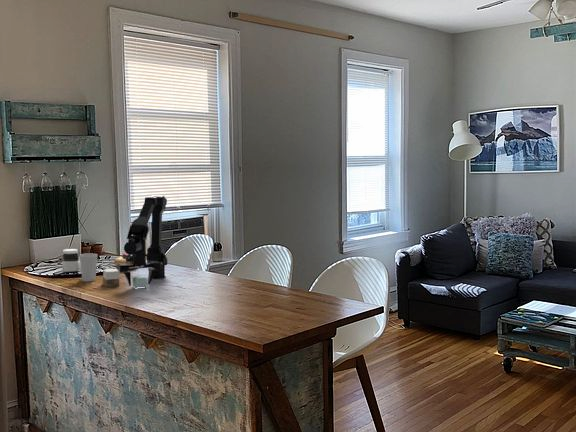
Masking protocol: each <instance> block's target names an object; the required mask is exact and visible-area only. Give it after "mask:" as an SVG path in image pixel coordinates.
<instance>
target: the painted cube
mask: <svg viewBox="0 0 576 432" xmlns="http://www.w3.org/2000/svg"><path fill="white" fill-rule="evenodd" d="M131 277H132V279H131V285H132V287H133V286H134V287H135V288H137V287H147V288H148V286H147V284H148V279H147V277H146V276H145V275H136V276H131Z"/></svg>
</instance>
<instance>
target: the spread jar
mask: <svg viewBox="0 0 576 432" xmlns="http://www.w3.org/2000/svg"><path fill="white" fill-rule="evenodd" d="M78 253H79V252H78V248H65V249H63V250H62V257H61V261H62V262H61V263H62V264H61V266H62V269H61V270H62V274H63V273H66V274H65V275H67V274H69V273H77V274H79V272H80V273H81V263H80V256H79V254H78Z"/></svg>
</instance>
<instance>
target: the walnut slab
mask: <svg viewBox="0 0 576 432" xmlns="http://www.w3.org/2000/svg"><path fill="white" fill-rule="evenodd" d="M103 284H104V285H105V286H104V285H103ZM102 285H103V286H104V287H106V286H110V287H115V286H114V285H119V286H120V279H109V280H106V279H105V278H104V277H102Z"/></svg>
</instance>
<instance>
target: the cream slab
mask: <svg viewBox="0 0 576 432" xmlns="http://www.w3.org/2000/svg"><path fill="white" fill-rule="evenodd" d="M102 271H103V273H102V274H103V275H102V276H103V277H104V278H105V279H106V280H109V279H119V280H120V275H121V272H119V271H118V270H117V268H107V269H102ZM103 277H102V278H103Z"/></svg>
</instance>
